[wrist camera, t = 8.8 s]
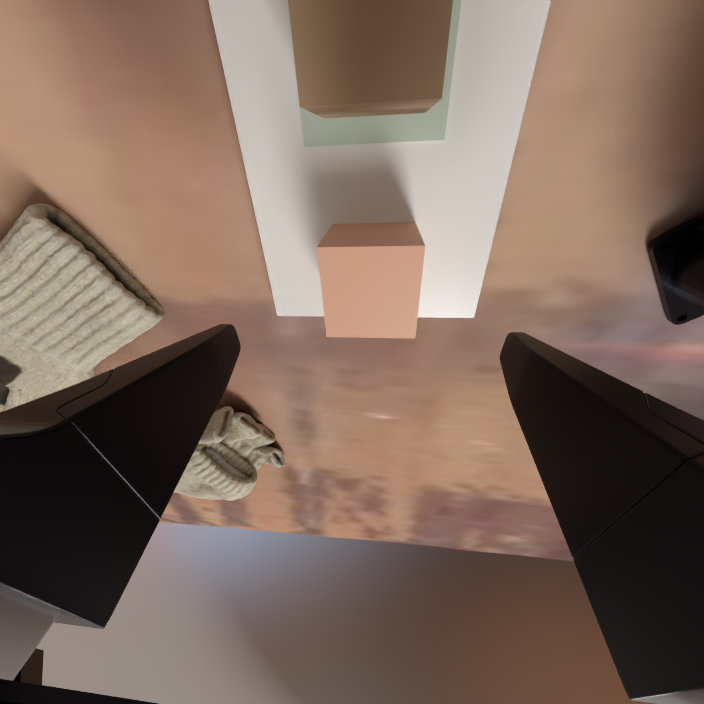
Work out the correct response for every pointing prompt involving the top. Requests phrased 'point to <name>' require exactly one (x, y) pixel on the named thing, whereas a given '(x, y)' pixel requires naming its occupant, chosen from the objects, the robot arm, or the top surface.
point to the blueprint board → (381, 150)
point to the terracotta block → (371, 279)
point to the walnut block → (369, 55)
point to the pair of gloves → (99, 340)
